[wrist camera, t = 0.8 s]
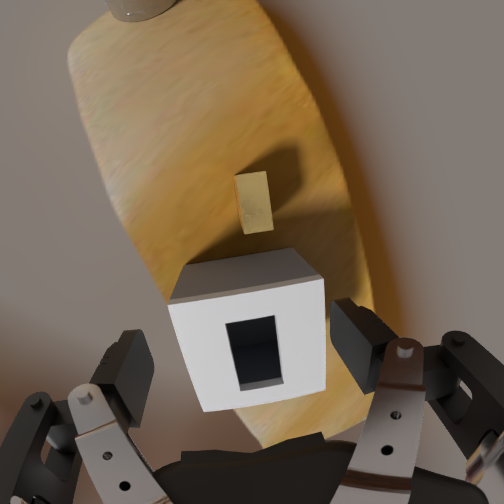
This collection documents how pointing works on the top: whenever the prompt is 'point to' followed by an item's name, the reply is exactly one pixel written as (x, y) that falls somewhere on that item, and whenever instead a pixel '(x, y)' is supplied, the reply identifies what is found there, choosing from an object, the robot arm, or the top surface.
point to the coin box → (251, 328)
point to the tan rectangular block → (253, 202)
